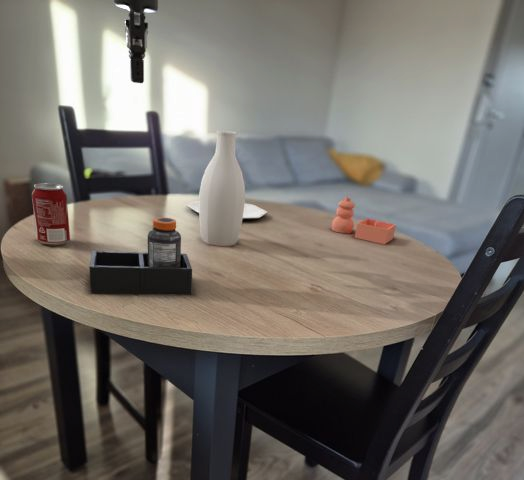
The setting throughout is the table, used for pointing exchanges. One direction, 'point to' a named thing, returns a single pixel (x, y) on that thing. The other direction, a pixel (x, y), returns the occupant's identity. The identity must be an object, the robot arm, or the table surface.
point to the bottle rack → (137, 274)
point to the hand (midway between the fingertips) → (137, 82)
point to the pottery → (362, 225)
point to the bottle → (222, 194)
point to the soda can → (51, 214)
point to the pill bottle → (164, 244)
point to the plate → (248, 212)
